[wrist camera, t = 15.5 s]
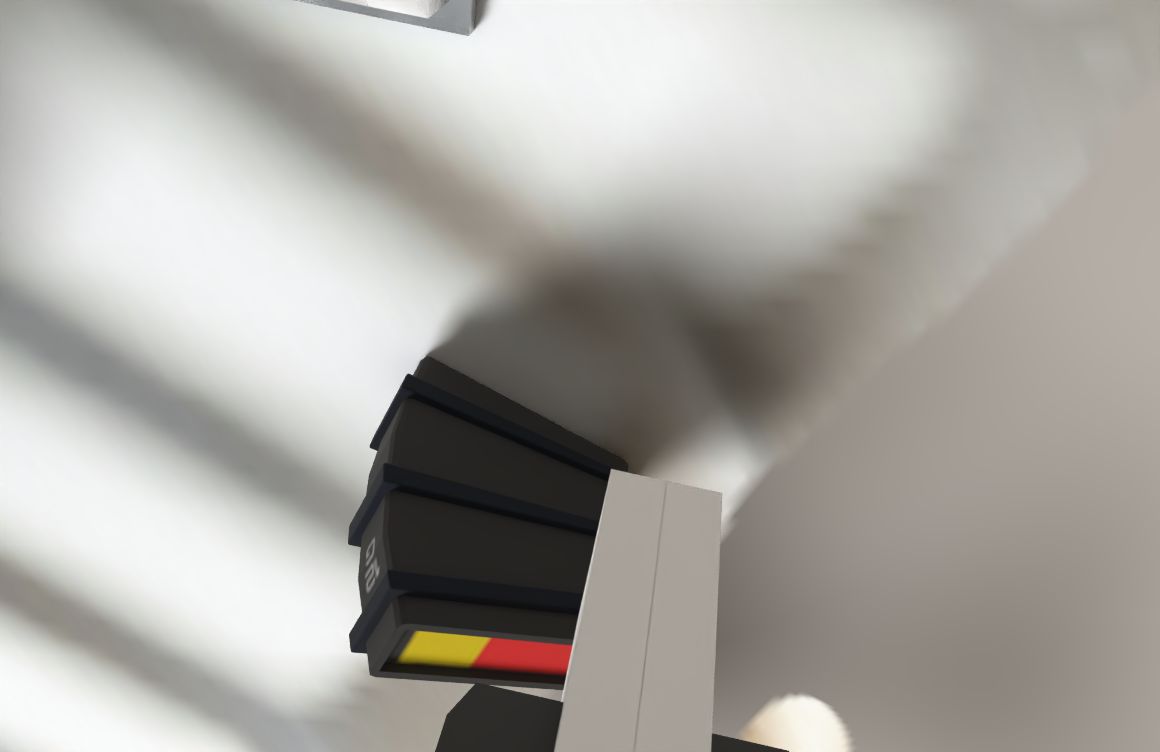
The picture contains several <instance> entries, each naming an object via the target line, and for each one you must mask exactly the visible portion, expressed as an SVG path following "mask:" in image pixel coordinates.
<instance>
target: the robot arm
mask: <svg viewBox="0 0 1160 752" xmlns="http://www.w3.org/2000/svg"><path fill="white" fill-rule="evenodd" d="M721 511H722V493H719V492H714V491H710V490H705V489H701V488H696V487H691V486H687V485H682V484H678V483H673V482H669V481H664V480H659V479H655V478H650V477H646V476H641V475H637V474H632V473H627V472H623V471H618V470H614V469H611V472H610V477H609V481H608V486H607V490H606V495H605V499H604V504H603V508H602V513H601V517H600V522H599V526H598V531H597V535H596V540H595V544H594V549H593V553H592V558H591V562H590V567H589V571H588V576H587V580H586V584H585V589H584V593H583V598H582V602H581V607H580V611H579V616H578V621H577V626H576V631H575V636H574V640H573V645H572V650H571V655H570V660H569V665H568V670H567V675H566V680H565V685H564V690H563V695H562V700H561V702H560V701H556V700H551V699H547V698H542V697H538V696H534V695H529V694H525V693H520V692H516V691H512V690H507V689H503V688H498V687H494V686H490V685H485V684H481V683H476V684H475V685H474V686H473V687H472V688H471V689H470V690H469V691H468V692H467V694H466V695H465V696H464V697H463V698H462V699H461V700H460V701H459V702H458V703H457V704H456V706H455V707H454V708H453V709H452V710H451V711H450V712H449V713H448V714H447V716H446V719H445V722H444V725H443V729H442V732H441V735H440V738H439V741H438V744H437V747H436V751H435V752H789V751H787V750H783V749H778V748H774V747H770V746H765V745H761V744H756V743H752V742H748V741H743V740H739V739H734V738H730V737H725V736H721V735H717V734H712V718H713V695H714V670H715V649H716V624H717V602H718V579H719V557H720V556H719V555H720V534H721Z"/></svg>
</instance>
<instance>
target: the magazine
mask: <svg viewBox="0 0 1160 752" xmlns="http://www.w3.org/2000/svg"><path fill="white" fill-rule="evenodd" d="M370 448H372V449H374V450H377V451H378V452H377V454H376V457H375V460H374V463H373V466H372V468H371V471H370V474H369V479H368V486H367V493H366V497H365V498H364V500H363V502H362V504H361V506H360V508H359V509H358V511H357V513H356V515H355V517H354V518H353V520H352V522H351V524H350V526H349V537H348V544H349V545H353V546H358V547H361V552H360V564H359V576H358V582H359V591H360V599H361V607H362V614H361V615H360V617H359V619H358V620H357V622H356V624H355V625H354V627H353V629H352V630H351V632H350V634H349V639H350V648H351V652H354V653H367V655H368V663H369V672H370V675H372V676H374V677H383V678H397V679H412V680H426V681H440V682H455V683H469V684H476V683H481V684H485V685H498V686H512V687H526V688H541V689H555V690H564V685H565V680H566V675H567V670H568V665H569V660H570V655H571V650H572V645H573V640H574V636H575V631H576V626H577V621H578V616H579V611H580V607H581V602H582V598H583V593H584V589H585V584H586V580H587V576H588V571H589V567H590V562H591V558H592V553H593V549H594V544H595V540H596V535H597V531H598V526H599V522H600V517H601V513H602V508H603V504H604V499H605V495H606V490H607V486H608V481H609V477H610V472H611V469H614V470H618V471H623V472H627V470H628V464H627V463H626V462H625V461H624V460H622V459H621V458H619V457H617V456H615V455H613V454H611V453H609V452H607V451H605V450H604V449H602V448H600V447H598V446H596V445H594V444H592V443H590V442H589V441H587V440H585V439H583V438H581V437H579V436H577V435H575V434H573V433H572V432H570V431H568V430H566V429H564V428H562V427H560V426H558V425H557V424H555V423H553V422H551V421H549V420H547V419H545V418H543V417H541V416H540V415H538V414H536V413H534V412H532V411H530V410H528V409H526V408H525V407H523V406H521V405H519V404H517V403H515V402H513V401H511V400H509V399H508V398H506V397H504V396H502V395H500V394H498V393H496V392H494V391H492V390H491V389H489V388H487V387H485V386H483V385H481V384H479V383H477V382H476V381H474V380H472V379H470V378H468V377H466V376H464V375H462V374H460V373H459V372H457V371H455V370H453V369H451V368H449V367H447V366H445V365H444V364H442V363H440V362H438V361H436V360H434V359H432V358H430V357H425V358H424V359H423V360H421V361H420V363H419V365H418V367H417V369H416V370H415V372H414V374H413V375H411V374H407V375H406V377H405V379H404V381H403V383H402V384H401V386H400V388H399V390H398V392H397V394H396V396H395V398H394V399H393V401H392V403H391V405H390V407H389V409H388V411H387V413H386V414H385V416H384V418H383V420H382V422H381V424H380V426H379V428H378V429H377V431H376V433H375V435H374V437H373V440H372V442H371V444H370Z"/></svg>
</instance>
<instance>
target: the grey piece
mask: <svg viewBox="0 0 1160 752" xmlns="http://www.w3.org/2000/svg"><path fill="white" fill-rule="evenodd" d="M295 1H300V2H305V3H310V4H315V5H320V6H324V7H329V8H334V9H339V10H344V11H349V12H354V13H359V14H364V15H369V16H373V17H378V18H383V19H388V20H393V21H398V22H403V23H408V24H413V25H418V26H423V27H427V28H432V29H437V30H442V31H447V32H452V33H457V34H462V35H467V36H469V35H470V34H471V33H472V32H473V31H474V22H475V12H476V3H477V0H295Z"/></svg>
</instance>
